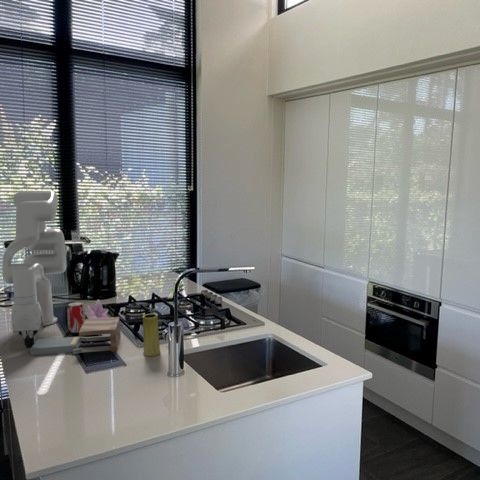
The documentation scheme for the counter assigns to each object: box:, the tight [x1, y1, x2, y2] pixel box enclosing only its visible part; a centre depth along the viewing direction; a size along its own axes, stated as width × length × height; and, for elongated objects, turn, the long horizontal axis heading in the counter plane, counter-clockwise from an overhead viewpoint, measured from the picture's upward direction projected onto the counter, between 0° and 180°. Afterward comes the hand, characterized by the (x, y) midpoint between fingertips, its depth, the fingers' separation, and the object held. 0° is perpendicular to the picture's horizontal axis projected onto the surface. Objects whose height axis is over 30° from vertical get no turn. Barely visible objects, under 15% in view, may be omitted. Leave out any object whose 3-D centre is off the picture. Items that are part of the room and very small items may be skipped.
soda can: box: [66, 301, 86, 334], centre depth 192 cm, size 7×7×12 cm
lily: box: [87, 299, 110, 319], centre depth 203 cm, size 12×12×10 cm
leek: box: [166, 280, 185, 300], centre depth 254 cm, size 6×7×30 cm
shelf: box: [72, 316, 121, 355], centre depth 175 cm, size 16×16×8 cm
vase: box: [142, 313, 161, 357], centre depth 165 cm, size 6×6×14 cm
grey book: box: [29, 335, 82, 356], centre depth 172 cm, size 10×16×3 cm, turn 100°
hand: (29, 347), depth 171 cm, fingers closed
